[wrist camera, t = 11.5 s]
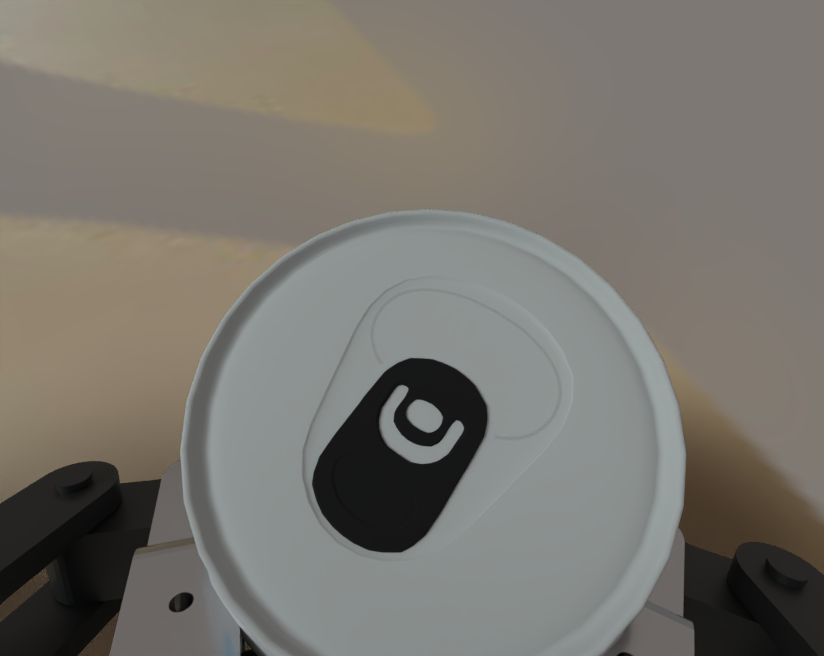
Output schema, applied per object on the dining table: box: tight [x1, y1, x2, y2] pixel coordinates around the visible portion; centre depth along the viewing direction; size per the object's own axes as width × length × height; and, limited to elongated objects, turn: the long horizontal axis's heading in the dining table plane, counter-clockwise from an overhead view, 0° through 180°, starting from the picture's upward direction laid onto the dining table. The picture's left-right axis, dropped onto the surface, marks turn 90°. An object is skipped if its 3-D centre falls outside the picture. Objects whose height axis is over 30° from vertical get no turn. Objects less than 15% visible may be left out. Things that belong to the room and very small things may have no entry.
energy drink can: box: [180, 209, 687, 656], centre depth 11 cm, size 6×6×15 cm
